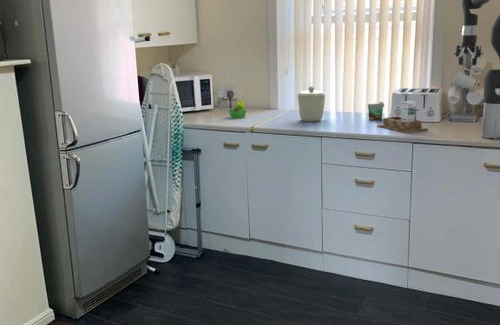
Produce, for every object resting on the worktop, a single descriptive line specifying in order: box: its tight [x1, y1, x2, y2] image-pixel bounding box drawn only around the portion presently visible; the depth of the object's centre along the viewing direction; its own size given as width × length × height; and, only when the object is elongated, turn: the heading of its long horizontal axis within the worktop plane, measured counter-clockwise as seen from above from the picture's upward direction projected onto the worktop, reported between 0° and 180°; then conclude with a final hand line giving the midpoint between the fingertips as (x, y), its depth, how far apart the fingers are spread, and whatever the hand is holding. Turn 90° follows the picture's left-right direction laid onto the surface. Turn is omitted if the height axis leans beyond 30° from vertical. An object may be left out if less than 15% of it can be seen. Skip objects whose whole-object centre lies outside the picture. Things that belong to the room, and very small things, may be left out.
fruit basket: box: [228, 99, 247, 120], centre depth 335 cm, size 11×9×11 cm
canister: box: [296, 86, 327, 122], centre depth 312 cm, size 18×18×21 cm
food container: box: [367, 101, 385, 121], centre depth 308 cm, size 12×6×10 cm, turn 129°
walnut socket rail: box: [377, 115, 429, 134], centre depth 281 cm, size 24×14×5 cm, turn 27°
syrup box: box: [400, 100, 417, 122], centre depth 275 cm, size 6×6×14 cm
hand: (467, 65), depth 276 cm, fingers open, 8 cm apart
